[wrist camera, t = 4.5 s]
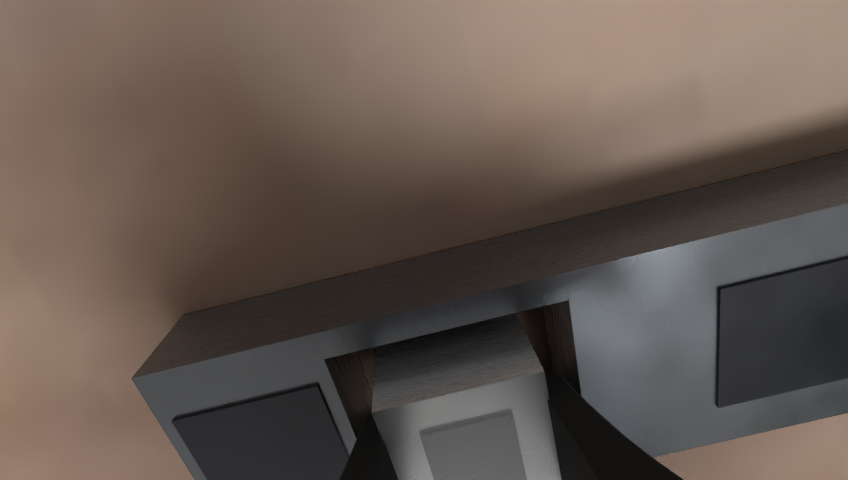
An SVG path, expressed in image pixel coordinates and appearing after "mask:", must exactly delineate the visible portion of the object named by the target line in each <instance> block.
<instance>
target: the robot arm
mask: <svg viewBox="0 0 848 480" xmlns="http://www.w3.org/2000/svg"><path fill="white" fill-rule="evenodd" d="M545 377H546V383H547V388H548V394H549V400H547V401H548V407H549V412H550V418H551V423H552V429H553V434H554V440H555V445H556V451H557V456H558V462H559V468H560V473H561V479H562V480H683V479H682V478H680V477H679V476H677V475H676V474H675V473H673V472H672V471H670V470H669V469H667V468H666V467H665V466H663V465H662V464H661V463H659V462H658V461H656V460H655V459H654V458H652V457H651V456H650V455H649V454H647V453H646V452H645V451H643V450H642V449H641V448H640V447H638V446H637V445H636V444H635V443H633V442H632V441H631V440H630V439H628V438H627V437H626V436H625V435H624V434H622V433H621V432H620V431H619V430H618V429H617V428H615V427H614V426H613V425H612V424H611V423H610V422H609V421H608V420H606V419H605V418H604V417H603V416H602V415H601V414H600V413H599V412H597V411H596V410H595V409H594V408H593V407H592V406H591V405H590V404H589V403H588V402H587V401H586V400H585V399H584V398H583V397H582V396H581V395H580V394H579V393H578V392H577V391H576V390H575V389H574V388H573V387H572V386H571V385H570V384H569V383H568V382H567V381H566V379H565V378H564V377H563V376H562V375H561V374H560V373H559V372H557V371H556V370H554V371H550V372H546V373H545ZM339 480H398V478H397V475H396V472H395V469H394V466H393V464H392V461H391V458H390V455H389V453H388V450H387V447H386V444H385V442H384V439H381V437H380V434H379V432H378V429H377V426H376V423H375V421H374V418H373V415H372V414H368V415H367V416H366V417H365V418H364V421H363V423H362V426H361V429H360V431H359V434H358V437H357V439H356V442H355V444H354V447H353V449H352V451H351V454H350V456H349V459H348V461H347V463H346V466H345V468H344V470H343V472H342V474H341V477H340V479H339Z"/></svg>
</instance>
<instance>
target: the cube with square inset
mask: <svg viewBox="0 0 848 480" xmlns="http://www.w3.org/2000/svg"><path fill="white" fill-rule="evenodd" d="M547 400H549V394H548V388H547V383H546V377H545V371H544V369H543V367H542V365H541V363H540V361H539V359H538V357H537V355H536V353H535V351H534V349H533V347H532V345H531V343H530V341H529V339H528V337H527V335H526V333H525V330H524V328H523V326H522V324H521V322H520V320H519V318H518V316H517V314H516V313H513V314H509V315H505V316H501V317H497V318H492V319H488V320H484V321H480V322H476V323H472V324H468V325H464V326H459V327H455V328H451V329H447V330H443V331H439V332H435V333H430V334H426V335H422V336H418V337H414V338H410V339H406V340H402V341H397V342H393V343H389V344H385V345H381V346H377V347H376V358H375V372H374V386H373V399H372V415H373V418H374V421H375V423H376V426H377V429H378V432H379V434H380V437H381V439H384V442H385V444H386V447H387V450H388V453H389V455H390V458H391V461H392V464H393V466H394V469H395V472H396V475H397V478H398V480H562V479H561V473H560V468H559V462H558V456H557V451H556V445H555V440H554V434H553V429H552V423H551V418H550V412H549V407H548V401H547Z"/></svg>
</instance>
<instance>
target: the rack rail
mask: <svg viewBox="0 0 848 480" xmlns="http://www.w3.org/2000/svg"><path fill="white" fill-rule="evenodd" d="M542 306H543V310H544V317H545V323H546V329H547V335H548V342H549V348H550V354H551V360H552V367H553V371H554V370H556V371H557V372H559V373H560V374H561V375H562V376H563V377H564V378H565V379H566V381H567V382H568V383H569V384H570V385H571V386H572V387H573V388H574V389H575V390H576V391H577V392H578V393H579V394H580V395H581V396H582V397H583V398H584V399H585V400H586V401H587V402H588V403H589V404H590V405H591V406H592V407H593V408H594V409H595V410H596V411H597V412H599V413H600V414H601V415H602V416H603V417H604V418H605V419H606V420H608V421H609V422H610V423H611V424H612V425H613V426H614V427H615V428H617V429H618V430H619V431H620V432H621V433H622V434H624V435H625V436H626V437H627V438H628V439H630V440H631V441H632V442H633V443H635V444H636V445H637V446H638V447H640V448H641V449H642V450H643V451H645V452H646V453H647V454H649V455H650V456H651V457H657V456H661V455H665V454H670V453H674V452H679V451H683V450H687V449H692V448H696V447H700V446H705V445H709V444H713V443H718V442H722V441H727V440H731V439H735V438H740V437H744V436H748V435H753V434H757V433H762V432H766V431H770V430H775V429H779V428H783V427H788V426H792V425H797V424H801V423H805V422H810V421H814V420H818V419H823V418H827V417H832V416H836V415H840V414H845V413H848V150H847V151H843V152H839V153H835V154H830V155H826V156H822V157H818V158H814V159H810V160H806V161H802V162H798V163H794V164H790V165H786V166H782V167H778V168H774V169H770V170H766V171H762V172H758V173H754V174H750V175H746V176H742V177H738V178H734V179H730V180H726V181H722V182H718V183H714V184H710V185H706V186H702V187H697V188H693V189H689V190H685V191H681V192H677V193H673V194H669V195H665V196H661V197H657V198H653V199H649V200H645V201H641V202H637V203H633V204H629V205H625V206H621V207H617V208H613V209H609V210H605V211H601V212H597V213H593V214H589V215H585V216H581V217H577V218H573V219H569V220H564V221H560V222H556V223H552V224H548V225H544V226H540V227H536V228H532V229H528V230H524V231H520V232H516V233H512V234H508V235H504V236H500V237H496V238H492V239H488V240H484V241H480V242H476V243H472V244H468V245H464V246H460V247H456V248H452V249H448V250H444V251H440V252H436V253H432V254H427V255H423V256H419V257H415V258H411V259H407V260H403V261H399V262H395V263H391V264H387V265H383V266H379V267H375V268H371V269H367V270H363V271H359V272H355V273H351V274H347V275H343V276H339V277H335V278H331V279H327V280H323V281H319V282H315V283H311V284H307V285H303V286H299V287H294V288H290V289H286V290H282V291H278V292H274V293H270V294H266V295H262V296H258V297H254V298H250V299H246V300H242V301H238V302H234V303H230V304H226V305H222V306H218V307H214V308H210V309H206V310H202V311H198V312H194V313H190V314H186V315H183V316H182V317H181V318H180V320H179V321H178V322H177V323H176V324H175V326H174V327H173V328H172V329H171V331H170V332H169V333H168V334H167V335H166V337H165V338H164V339H163V340H162V342H161V343H160V344H159V345H158V346H157V348H156V349H155V350H154V351H153V353H152V354H151V355H150V356H149V357H148V359H147V360H146V361H145V362H144V364H143V365H142V366H141V367H140V368H139V370H138V371H137V372H136V373H135V375H134V376H133V377H132V378H131V379H132V380H133V382H134V383H135V385H136V387H137V388H138V390H139V391H140V393H141V395H142V396H143V398H144V399H145V401H146V403H147V404H148V406H149V407H150V409H151V411H152V412H153V414H154V415H155V417H156V418H157V420H158V422H159V423H160V425H161V426H162V428H163V430H164V431H165V433H166V434H167V436H168V438H169V439H170V441H171V442H172V444H173V446H174V447H175V449H176V450H177V452H178V454H179V455H180V457H181V458H182V460H183V462H184V463H185V465H186V466H187V468H188V469H189V471H190V473H191V474H192V476H193V477H194V479H195V480H339V479H340V477H341V474H342V472H343V470H344V468H345V466H346V463H347V461H348V459H349V456H350V454H351V451H352V449H353V447H354V444H355V442H356V439H357V437H358V434H359V431H360V429H361V426H362V423H363V421H364V418H365V417H366V416H367V415H368V414H372V399H373V395H372V392H371V390H370V387H369V384H368V382H367V379H366V376H365V373H364V371H363V368H362V365H361V363H360V360H359V357H358V354H357V352H356V351H360V350H364V349H368V348H373V347H377V346H381V345H385V344H389V343H393V342H397V341H402V340H406V339H410V338H414V337H418V336H422V335H426V334H430V333H435V332H439V331H443V330H447V329H451V328H455V327H459V326H464V325H468V324H472V323H476V322H480V321H484V320H488V319H492V318H497V317H501V316H505V315H509V314H513V313H517V312H521V311H525V310H530V309H534V308H538V307H542Z"/></svg>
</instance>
